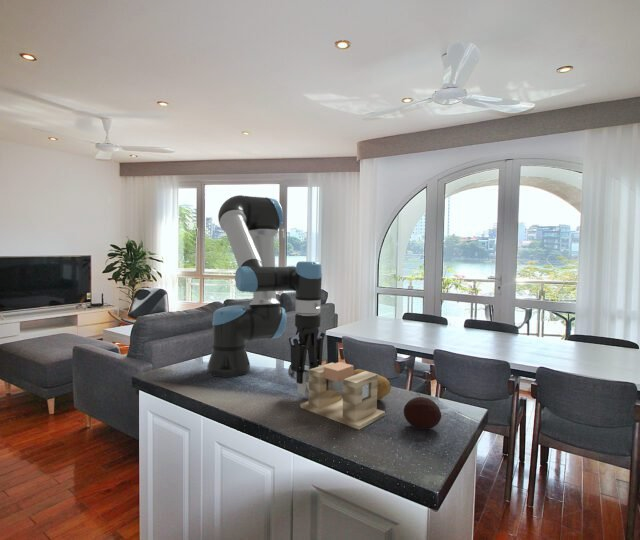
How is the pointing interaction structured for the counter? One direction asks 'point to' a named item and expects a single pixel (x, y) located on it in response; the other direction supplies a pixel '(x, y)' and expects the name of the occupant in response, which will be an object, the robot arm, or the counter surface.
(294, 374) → the shaft
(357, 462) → the counter surface
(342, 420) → the bearing stand
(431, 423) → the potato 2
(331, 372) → the spacer
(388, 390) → the potato
